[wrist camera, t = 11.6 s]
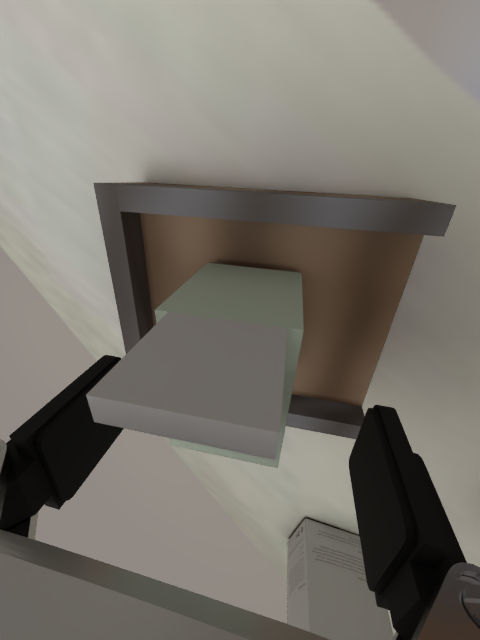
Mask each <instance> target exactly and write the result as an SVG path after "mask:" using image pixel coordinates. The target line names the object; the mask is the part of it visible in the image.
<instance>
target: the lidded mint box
mask: <svg viewBox="0 0 480 640" xmlns="http://www.w3.org/2000/svg"><path fill="white" fill-rule="evenodd" d="M155 316H156V325H155V326H154V327H153V328H152V329H151V330H150V331H149V332H148V333H147V334H146V335H145V336H144V337H143V338H142V339H141V340H140V341H139V342H138V343H137V344H136V345H135V346H134V347H133V348H132V349H131V350H130V351H129V352H128V353H127V354H126V355H125V356H124V357H123V358H122V359H121V360H120V361H119V362H118V363H117V364H116V365H115V366H114V367H113V368H112V369H111V370H110V371H109V372H108V373H107V374H106V375H105V376H104V377H103V378H102V379H101V380H100V381H99V382H98V383H97V384H96V385H95V386H94V387H93V388H92V389H91V390H90V391H89V392H88V393H87V394H86V397H87V400H88V403H89V407H90V410H91V413H92V417H93V420H94V422H97V423H102V424H106V425H111V426H116V427H121V428H125V429H130V430H135V431H139V432H144V433H149V434H154V435H158V436H163V437H168V438H169V439H170V445H173V446H178V447H182V448H187V449H192V450H196V451H201V452H205V453H210V454H215V455H219V456H224V457H229V458H233V459H238V460H242V461H247V462H252V463H256V464H261V465H266V466H270V467H275V468H278V463H279V458H280V453H281V447H282V442H283V437H284V432H285V426H286V421H287V416H288V411H289V405H290V400H291V395H292V390H293V384H294V379H295V374H296V369H297V363H298V358H299V353H300V348H301V342H302V337H303V332H304V323H303V294H302V273H299V272H298V271H290V270H280V269H278V270H271V269H262V268H252V267H243V266H233V265H231V264H224V263H214V262H212V263H207V264H205V265H204V266H203V267H202V268H201V269H200V270H199V271H198V272H197V273H195V274H194V275H193V276H192V277H191V278H190V279H189V280H188V281H186V282H185V283H184V284H183V285H182V286H181V287H180V288H179V289H178V290H176V291H175V292H174V293H173V294H172V295H171V296H170V297H169V298H167V299H166V300H165V301H164V302H163V303H162V304H161V305H160V306H159V307H157V308H156V309H155Z"/></svg>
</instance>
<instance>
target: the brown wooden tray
mask: <svg viewBox="0 0 480 640" xmlns="http://www.w3.org/2000/svg"><path fill="white" fill-rule="evenodd" d="M94 188H95V193H96V199H97V204H98V209H99V214H100V220H101V225H102V230H103V235H104V241H105V246H106V251H107V256H108V262H109V267H110V272H111V277H112V283H113V288H114V293H115V298H116V304H117V309H118V314H119V319H120V325H121V330H122V335H123V340H124V346H125V351H126V354H127V353H128V352H129V351H130V350H131V349H132V348H133V347H134V346H135V345H136V344H137V343H138V342H139V341H140V340H141V339H142V338H143V337H144V336H145V335H146V334H147V333H148V332H149V331H150V330H151V329H152V328H153V327H154V326H155V325H156V316H155V309H156V308H157V307H159V306H160V305H161V304H162V303H163V302H164V301H165V300H166V299H167V298H169V297H170V296H171V295H172V294H173V293H174V292H175V291H176V290H178V289H179V288H180V287H181V286H182V285H183V284H184V283H185V282H186V281H188V280H189V279H190V278H191V277H192V276H193V275H194V274H195V273H197V272H198V271H199V270H200V269H201V268H202V267H203V266H204V265H205V264H207V263H212V262H214V263H224V264H231V265H233V266H243V267H252V268H262V269H271V270H278V269H280V270H290V271H298V272H299V273H302V294H303V323H304V332H303V337H302V342H301V348H300V353H299V358H298V363H297V369H296V374H295V379H294V384H293V390H292V395H291V400H290V405H289V411H288V416H287V421H286V426H289V427H295V428H300V429H305V430H310V431H316V432H321V433H326V434H331V435H337V436H342V437H347V438H353V439H357V436H358V434H359V431H360V428H361V426H362V423H363V420H364V418H365V416H364V413H363V409H362V404H363V401H364V398H365V396H366V393H367V390H368V387H369V385H370V382H371V379H372V376H373V374H374V371H375V368H376V365H377V363H378V360H379V357H380V354H381V352H382V349H383V346H384V343H385V341H386V338H387V335H388V332H389V330H390V327H391V324H392V321H393V319H394V316H395V313H396V310H397V308H398V305H399V302H400V299H401V297H402V294H403V291H404V288H405V286H406V283H407V280H408V277H409V275H410V272H411V269H412V266H413V264H414V261H415V258H416V255H417V253H418V250H419V247H420V244H421V242H422V239H423V236H424V235H432V236H444V235H445V232H446V230H447V227H448V225H449V222H450V220H451V217H452V215H453V212H454V210H455V207H456V205H451V204H445V203H438V202H432V201H425V200H419V199H412V198H396V197H379V196H363V195H346V194H329V193H312V192H295V191H278V190H261V189H244V188H228V187H211V186H194V185H177V184H160V183H94Z"/></svg>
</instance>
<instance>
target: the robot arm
mask: <svg viewBox="0 0 480 640" xmlns="http://www.w3.org/2000/svg"><path fill="white" fill-rule="evenodd" d="M120 360H121V358H119V357H115V356H109V355H105V356H103V357H102V358H100V359H99V360H98V361H97V362H96V363H95V364H94V365H92V366H91V367H90V368H89V369H88V370H86V371H85V372H84V373H83V374H82V375H80V376H79V377H78V378H77V379H76V380H75V381H73V382H72V383H71V384H70V385H69V386H68V387H66V388H65V389H64V390H63V391H62V392H60V393H59V394H58V395H57V396H56V397H55V398H53V399H52V400H51V401H50V402H49V403H47V404H46V405H45V406H44V407H43V408H42V409H40V410H39V411H38V412H37V413H36V414H35V415H33V416H32V417H31V418H30V419H29V420H27V421H26V422H25V423H24V424H23V425H21V426H20V427H19V428H18V429H17V430H16V431H15V432H13V433H12V434H11V435H10V438H11V440H10V441H9V442H7V443H5V442H4V441H3V440H1V439H0V640H331V639H328V638H325V637H322V636H319V635H317V634H314V633H311V632H308V631H306V630H303V629H300V628H297V627H294V626H292V625H289V624H286V623H283V622H280V621H277V620H274V619H271V618H268V617H265V616H262V615H259V614H256V613H253V612H250V611H247V610H244V609H241V608H238V607H235V606H232V605H229V604H227V603H224V602H221V601H218V600H214V599H212V598H209V597H206V596H203V595H200V594H197V593H194V592H191V591H188V590H185V589H182V588H179V587H176V586H173V585H170V584H167V583H164V582H161V581H158V580H155V579H152V578H149V577H146V576H143V575H140V574H137V573H134V572H131V571H128V570H125V569H122V568H119V567H116V566H113V565H110V564H107V563H104V562H101V561H98V560H94V559H92V558H89V557H86V556H82V555H79V554H76V553H73V552H70V551H67V550H64V549H61V548H58V547H55V546H52V545H49V544H46V543H43V542H40V541H37V540H35V533H36V526H37V518H38V511H39V510H40V509H41V507H42V506H43V505H44V504H45V505H46V506H49V507H53V508H56V509H60V508H61V506H62V505H63V504H64V502H65V501H66V500H69V499H71V498H72V497H73V496H74V494H75V493H76V492H77V490H78V489H79V487H80V486H81V485H82V483H83V482H84V481H85V480H86V478H87V477H88V476H89V474H90V473H91V472H92V470H93V469H94V468H95V466H96V465H97V464H98V462H99V461H100V459H101V458H102V457H103V455H104V454H105V453H106V452H107V450H108V449H109V448H110V446H111V445H112V444H113V442H114V441H115V439H116V438H117V436H118V435H119V434H120V433H121V431H122V430H123V429H124V428H121V427H116V426H111V425H106V424H102V423H97V422H94V420H93V417H92V413H91V410H90V407H89V403H88V400H87V397H86V394H87V393H88V392H89V391H90V390H91V389H92V388H93V387H94V386H95V385H96V384H97V383H98V382H99V381H100V380H101V379H102V378H103V377H104V376H105V375H106V374H107V373H108V372H109V371H110V370H111V369H112V368H113V367H114V366H115V365H116V364H117V363H118V362H119V361H120ZM349 470H350V477H351V483H352V490H353V496H354V503H355V509H356V516H357V522H358V529H359V535H360V542H361V548H362V554H363V561H364V567H365V574H366V580H367V585H368V588H369V590H370V591H372V592H375V598H376V604H377V607H381V608H384V609H387V610H390V613H391V618H392V623H393V627H394V629H395V630H396V633H395V635H394V637H393V639H392V640H480V567H478V566H476V565H473V564H469V563H467V562H466V560H465V557H464V555H463V553H462V550H461V548H460V546H459V543H458V541H457V539H456V536H455V534H454V532H453V529H452V527H451V525H450V522H449V520H448V518H447V515H446V513H445V511H444V508H443V506H442V504H441V501H440V499H439V496H438V494H437V492H436V489H435V487H434V485H433V482H432V480H431V478H430V475H429V473H428V471H427V468H426V466H425V464H424V462H423V460H422V458H421V457H420V456H419V455H418V454H415V453H413V452H412V449H411V447H410V444H409V442H408V439H407V437H406V434H405V432H404V429H403V427H402V424H401V422H400V419H399V417H398V414H397V412H396V410H395V409H394V408H391V407H385V406H380V405H375V406H374V407H373V408H368V410H367V412H366V415H365V418H364V420H363V423H362V426H361V428H360V431H359V434H358V436H357V439H356V442H355V444H354V447H353V450H352V452H351V455H350V458H349Z"/></svg>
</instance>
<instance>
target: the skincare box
mask: <svg viewBox="0 0 480 640" xmlns="http://www.w3.org/2000/svg"><path fill="white" fill-rule="evenodd" d="M287 568H288V572H287V573H288V576H287V585H288V586H287V590H288V591H287V593H288V594H287V624H289V625H292V626H294V627H297V628H300V629H303V630H306V631H308V632H311V633H314V634H317V635H319V636H322V637H325V638H328V639H331V640H392V639H393V637H394V636H393V632H392V627H391V623H390V619H389V614H388V610H387V609H384V608H381V607H377V604H376V598H375V592H372V591H370V590H369V588H368V585H367V580H366V574H365V567H364V561H363V554H362V548H361V542H360V536H358V535H355V534H352V533H349V532H346V531H342V530H339V529H336V528H333V527H330V526H327V525H324V524H321V523H318V522H315V521H312V520H310V519H307V518H306V519H305V520H304V521H303V522H302V523H301V525H300V526H299V527H298V528H297V530H296V531H295V532H294V534H293V535H292V536H291V538H290V539H289V541H288V565H287Z"/></svg>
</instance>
